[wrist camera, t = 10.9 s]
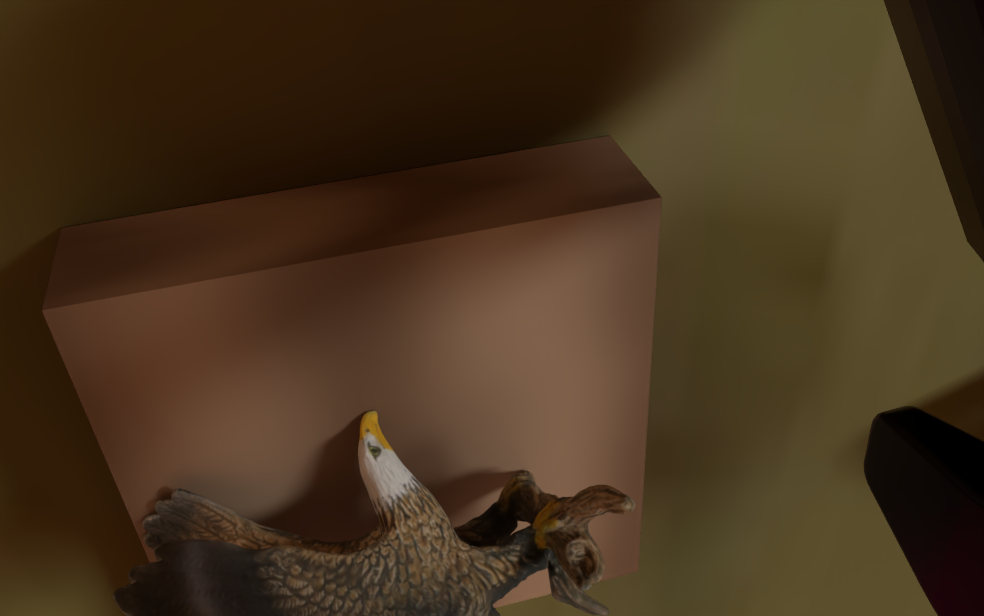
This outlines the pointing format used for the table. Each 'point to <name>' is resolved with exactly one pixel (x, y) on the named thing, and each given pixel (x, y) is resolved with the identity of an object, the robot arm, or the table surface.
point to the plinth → (375, 341)
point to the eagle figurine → (371, 552)
